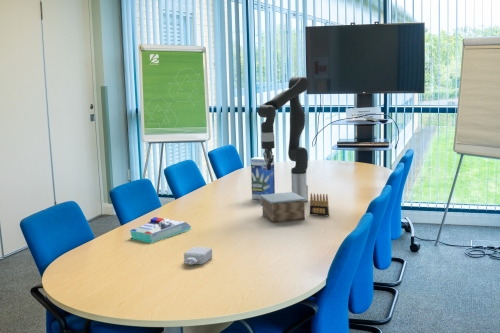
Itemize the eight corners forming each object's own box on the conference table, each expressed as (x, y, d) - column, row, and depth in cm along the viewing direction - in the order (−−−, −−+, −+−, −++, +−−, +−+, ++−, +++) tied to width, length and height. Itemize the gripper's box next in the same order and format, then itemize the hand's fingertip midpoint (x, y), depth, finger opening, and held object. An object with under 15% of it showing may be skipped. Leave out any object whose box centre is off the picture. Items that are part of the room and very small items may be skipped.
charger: (177, 267, 240) (193, 256, 254) (198, 269, 237) (212, 258, 250) (177, 256, 239) (192, 246, 253) (197, 258, 236) (212, 247, 250)
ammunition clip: (329, 215, 317) (328, 193, 315) (328, 215, 315) (327, 194, 313) (310, 213, 322) (310, 192, 320) (309, 214, 320) (309, 193, 318)
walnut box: (293, 212, 327) (292, 194, 325) (304, 219, 310) (304, 201, 308) (262, 215, 322) (262, 197, 320) (273, 222, 305) (272, 204, 303)
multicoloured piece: (126, 239, 285) (125, 222, 284) (169, 225, 309) (168, 209, 308) (150, 244, 275) (149, 226, 274) (193, 229, 299) (192, 213, 298)
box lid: (292, 202, 328) (292, 191, 327) (305, 209, 309) (305, 198, 308) (260, 205, 322) (260, 195, 321) (271, 213, 304) (271, 202, 303)
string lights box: (251, 198, 365) (250, 158, 361) (257, 196, 372) (255, 156, 368) (270, 200, 359) (269, 159, 355) (275, 197, 366) (274, 157, 362)
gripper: (277, 140, 326) (278, 171, 329) (270, 138, 338) (271, 167, 341) (265, 141, 324) (266, 172, 327) (258, 139, 336) (259, 168, 339)
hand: (268, 169), depth 334 cm, fingers closed
